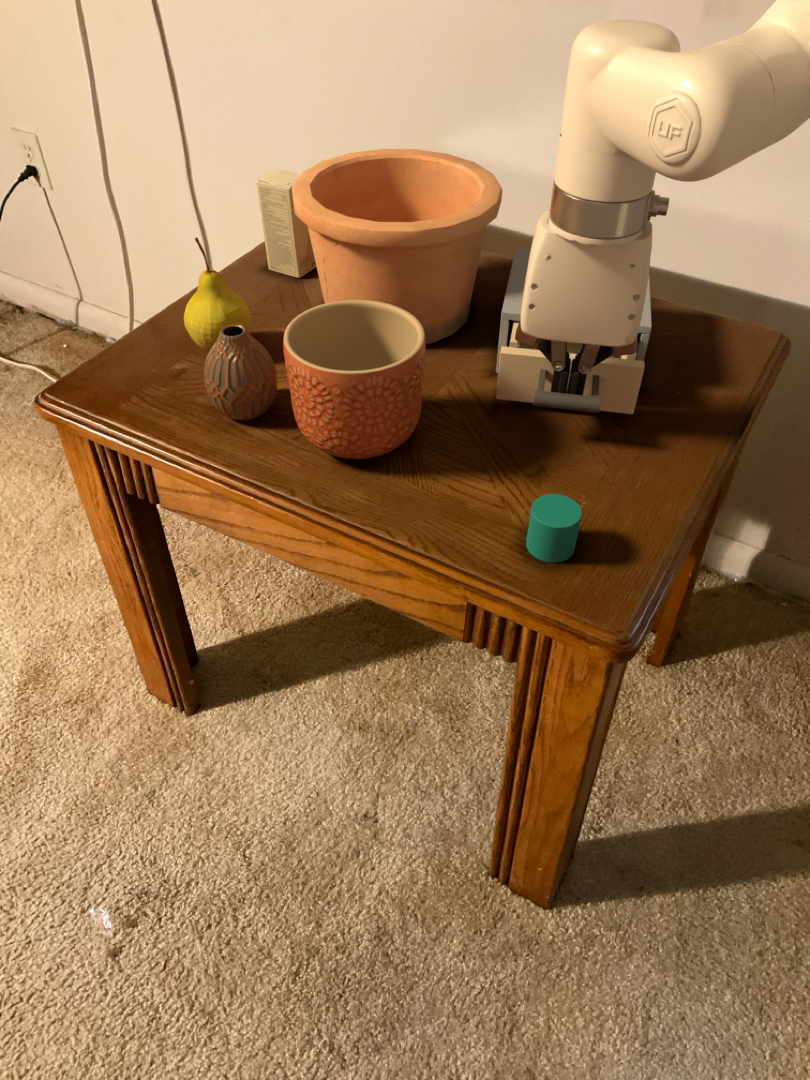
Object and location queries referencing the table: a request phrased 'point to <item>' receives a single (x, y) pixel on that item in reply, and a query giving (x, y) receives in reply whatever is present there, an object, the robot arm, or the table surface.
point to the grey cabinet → (515, 298)
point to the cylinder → (553, 528)
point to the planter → (355, 376)
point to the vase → (240, 374)
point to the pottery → (399, 230)
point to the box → (284, 226)
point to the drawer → (532, 375)
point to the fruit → (213, 308)
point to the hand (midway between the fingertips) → (565, 400)
